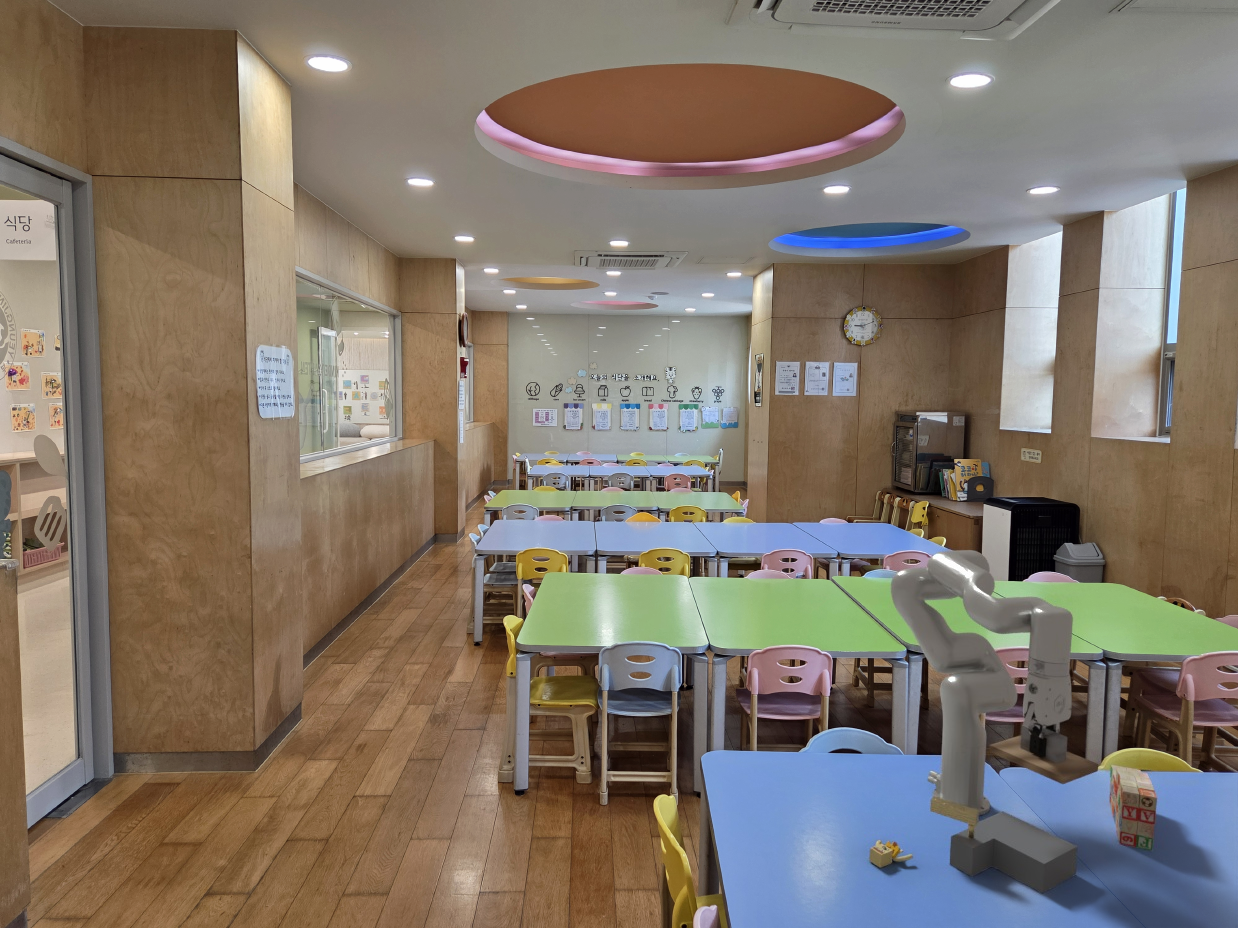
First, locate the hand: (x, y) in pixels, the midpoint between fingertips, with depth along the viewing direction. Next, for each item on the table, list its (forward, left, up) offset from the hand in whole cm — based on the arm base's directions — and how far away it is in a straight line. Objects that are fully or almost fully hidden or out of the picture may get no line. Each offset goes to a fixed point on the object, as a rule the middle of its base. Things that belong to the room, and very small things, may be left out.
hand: (1042, 751), depth 164 cm
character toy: (-15, -27, -24) cm, 39 cm away
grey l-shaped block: (0, -9, -23) cm, 25 cm away
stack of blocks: (+3, +32, -23) cm, 40 cm away
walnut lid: (0, 0, -2) cm, 2 cm away
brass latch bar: (-9, -16, -17) cm, 25 cm away
